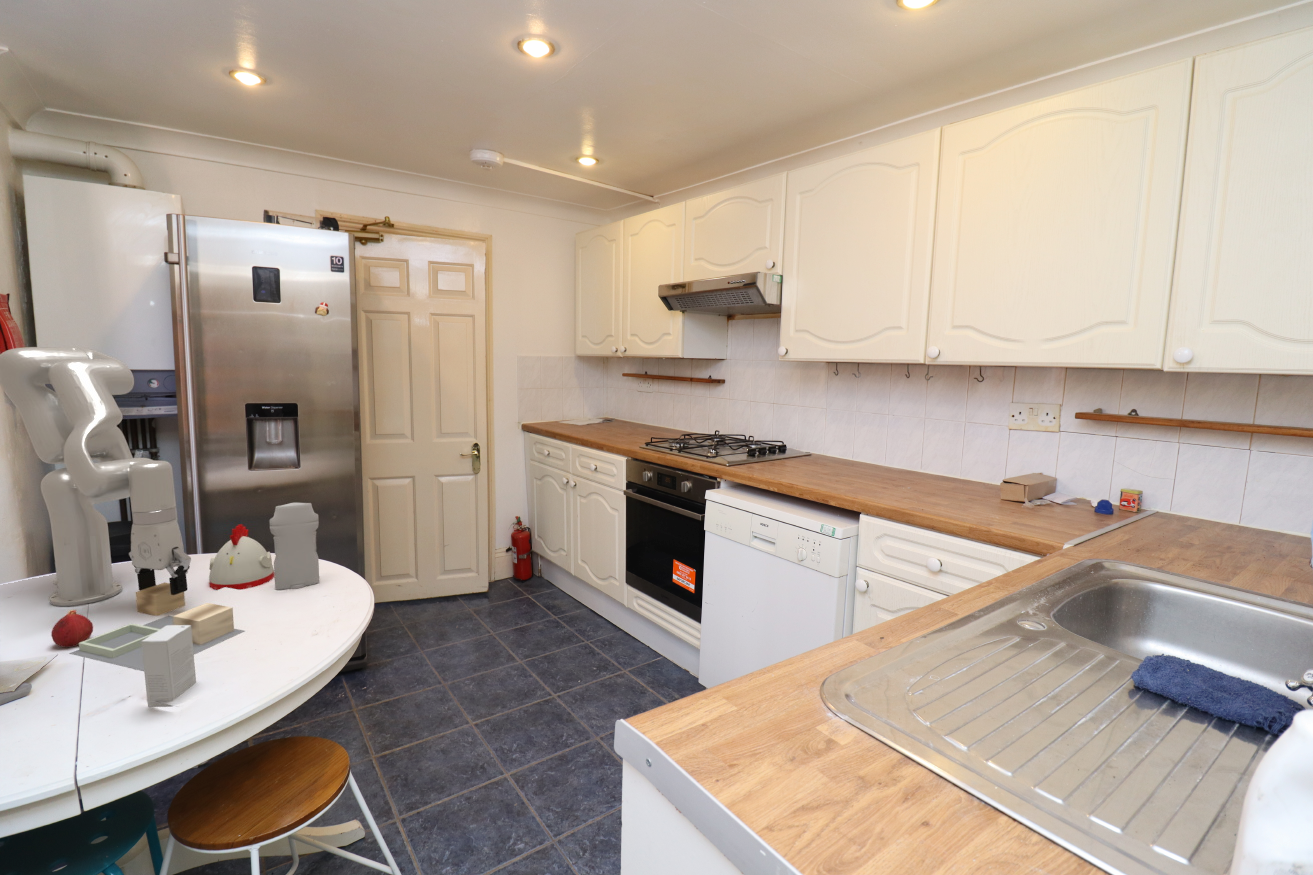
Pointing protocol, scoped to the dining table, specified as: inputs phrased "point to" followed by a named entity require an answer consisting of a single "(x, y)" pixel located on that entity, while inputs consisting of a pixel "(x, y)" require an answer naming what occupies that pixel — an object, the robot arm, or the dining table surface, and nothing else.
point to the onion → (71, 629)
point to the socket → (94, 648)
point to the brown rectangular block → (207, 621)
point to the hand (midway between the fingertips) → (163, 590)
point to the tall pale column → (295, 546)
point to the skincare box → (168, 664)
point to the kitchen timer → (240, 563)
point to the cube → (158, 600)
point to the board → (135, 656)
